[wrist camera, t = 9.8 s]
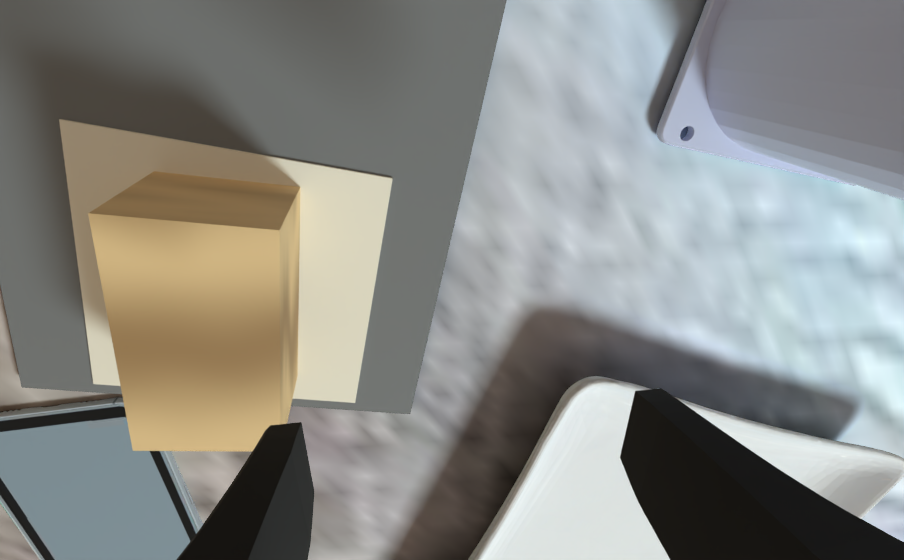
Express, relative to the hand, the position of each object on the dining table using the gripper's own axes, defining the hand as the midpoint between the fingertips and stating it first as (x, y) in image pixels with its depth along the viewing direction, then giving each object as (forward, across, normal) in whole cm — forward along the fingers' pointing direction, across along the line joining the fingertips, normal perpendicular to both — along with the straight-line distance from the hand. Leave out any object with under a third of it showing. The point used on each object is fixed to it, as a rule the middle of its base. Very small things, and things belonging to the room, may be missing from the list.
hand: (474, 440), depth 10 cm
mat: (+9, +6, -4) cm, 12 cm away
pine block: (+9, +7, 0) cm, 11 cm away
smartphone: (+10, +15, +13) cm, 22 cm away
